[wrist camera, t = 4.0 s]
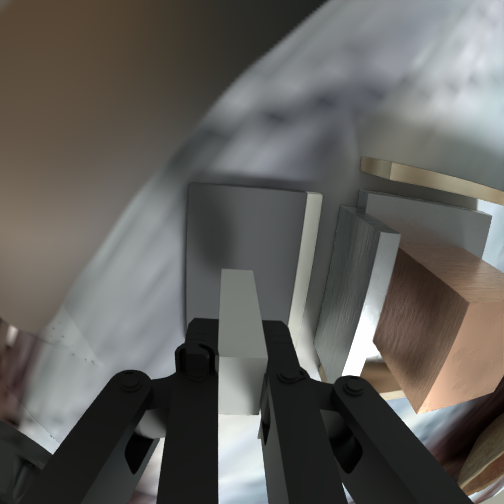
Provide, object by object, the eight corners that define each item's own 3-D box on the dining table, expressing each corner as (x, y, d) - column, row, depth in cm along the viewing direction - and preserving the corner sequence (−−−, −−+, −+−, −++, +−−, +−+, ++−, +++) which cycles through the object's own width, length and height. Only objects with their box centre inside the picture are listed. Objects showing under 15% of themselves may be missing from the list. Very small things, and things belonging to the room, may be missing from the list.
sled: (310, 355, 20) (344, 454, 12) (343, 187, 16) (430, 231, 8) (438, 346, 21) (492, 414, 13) (481, 211, 17) (568, 252, 9)
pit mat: (188, 343, 19) (187, 349, 19) (190, 182, 16) (188, 184, 15) (293, 346, 20) (295, 353, 19) (319, 192, 16) (322, 195, 16)
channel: (318, 371, 21) (330, 406, 18) (361, 156, 16) (392, 162, 13) (474, 353, 22) (494, 375, 19) (525, 199, 17) (555, 210, 14)
